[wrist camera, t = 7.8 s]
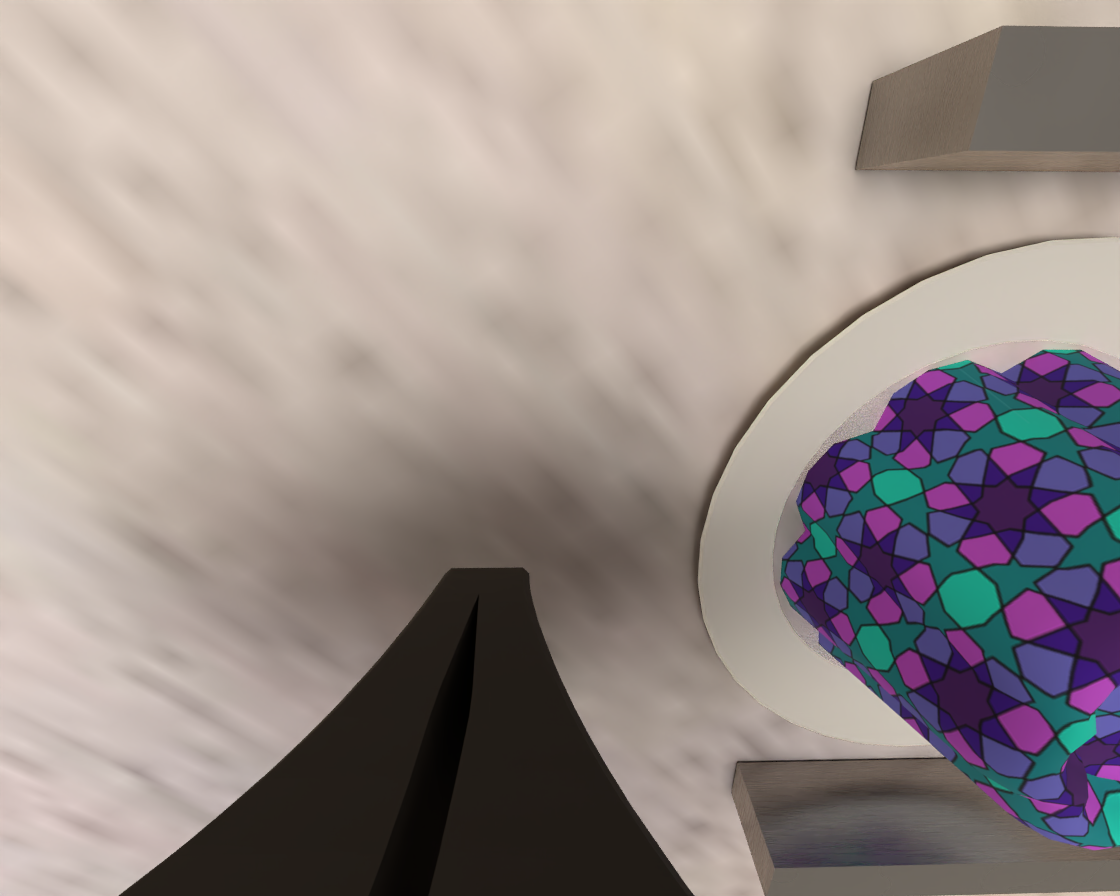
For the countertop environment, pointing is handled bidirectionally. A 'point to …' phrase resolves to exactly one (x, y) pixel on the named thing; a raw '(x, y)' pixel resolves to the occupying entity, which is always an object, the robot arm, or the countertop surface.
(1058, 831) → the pudding
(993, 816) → the grey u-shaped frame
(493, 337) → the countertop surface
